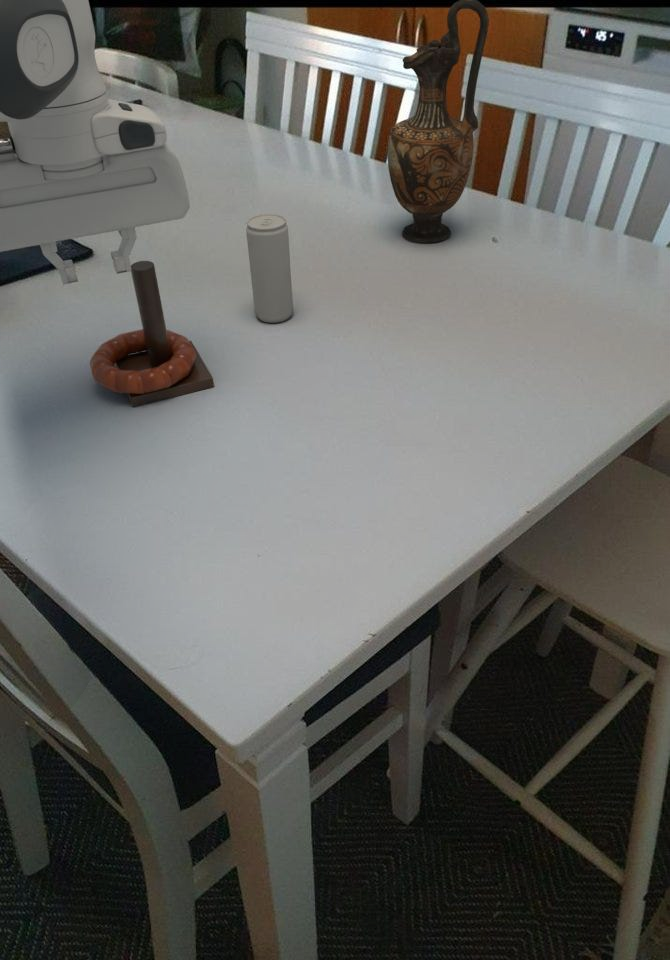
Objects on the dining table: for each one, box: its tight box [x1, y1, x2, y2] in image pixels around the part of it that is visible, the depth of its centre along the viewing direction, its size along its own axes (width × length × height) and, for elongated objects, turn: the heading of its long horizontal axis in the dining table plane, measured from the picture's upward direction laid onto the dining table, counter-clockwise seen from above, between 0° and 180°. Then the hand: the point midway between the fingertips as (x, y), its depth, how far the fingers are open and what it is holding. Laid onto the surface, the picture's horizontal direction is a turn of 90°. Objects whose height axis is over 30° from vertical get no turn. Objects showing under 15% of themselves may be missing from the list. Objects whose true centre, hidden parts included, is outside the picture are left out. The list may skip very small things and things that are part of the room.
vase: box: [386, 0, 490, 244], centre depth 108 cm, size 12×12×30 cm
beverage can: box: [245, 213, 294, 324], centre depth 97 cm, size 5×5×12 cm
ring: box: [89, 328, 196, 394], centre depth 88 cm, size 11×11×2 cm
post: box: [114, 260, 215, 408], centre depth 86 cm, size 9×9×13 cm
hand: (96, 275), depth 81 cm, fingers open, 4 cm apart
